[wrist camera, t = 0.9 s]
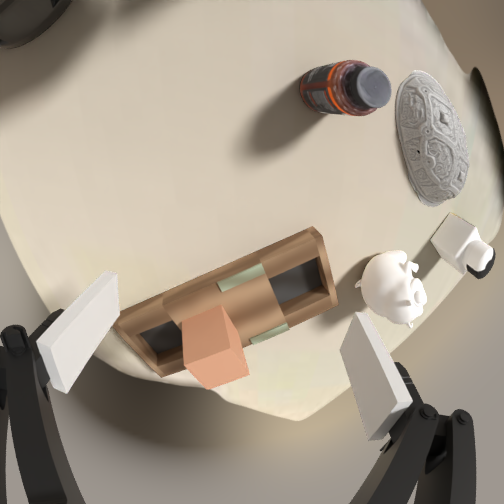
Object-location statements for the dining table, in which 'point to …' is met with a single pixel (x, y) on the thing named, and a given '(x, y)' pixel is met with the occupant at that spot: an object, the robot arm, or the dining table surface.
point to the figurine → (393, 288)
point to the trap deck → (236, 300)
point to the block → (213, 348)
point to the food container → (431, 139)
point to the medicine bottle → (463, 247)
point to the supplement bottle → (345, 88)
